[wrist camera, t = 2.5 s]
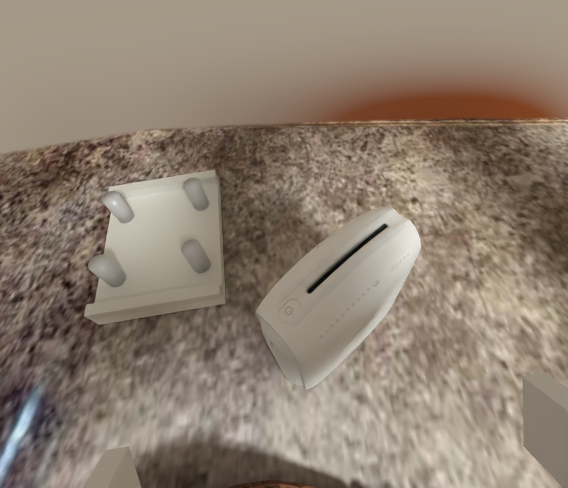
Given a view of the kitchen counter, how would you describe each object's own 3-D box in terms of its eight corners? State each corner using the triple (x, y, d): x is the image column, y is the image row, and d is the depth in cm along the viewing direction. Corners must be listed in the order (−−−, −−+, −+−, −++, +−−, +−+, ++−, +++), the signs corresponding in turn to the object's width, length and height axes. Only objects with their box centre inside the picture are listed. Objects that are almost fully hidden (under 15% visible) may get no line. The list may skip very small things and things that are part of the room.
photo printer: (304, 402, 24) (294, 367, 13) (267, 357, 25) (232, 294, 15) (397, 309, 27) (449, 220, 16) (357, 275, 28) (381, 175, 18)
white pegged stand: (225, 303, 28) (212, 282, 25) (99, 324, 28) (67, 307, 24) (220, 184, 36) (209, 154, 32) (120, 200, 36) (98, 173, 32)
